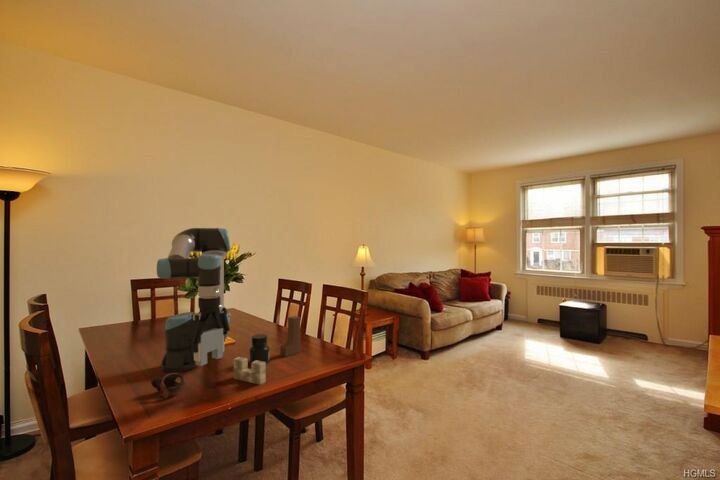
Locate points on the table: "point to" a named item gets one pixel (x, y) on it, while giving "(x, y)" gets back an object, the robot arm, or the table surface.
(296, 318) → the wooden block
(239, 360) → the slotted board
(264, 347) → the ink bottle
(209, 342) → the slotted plate
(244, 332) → the table surface
